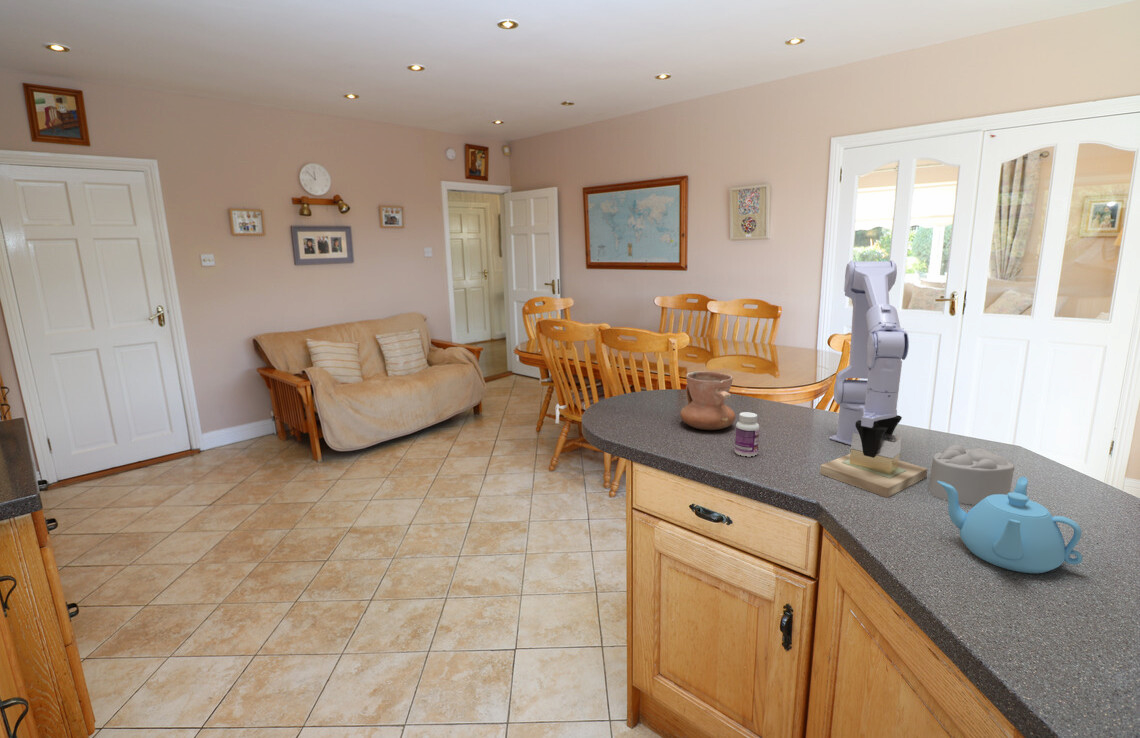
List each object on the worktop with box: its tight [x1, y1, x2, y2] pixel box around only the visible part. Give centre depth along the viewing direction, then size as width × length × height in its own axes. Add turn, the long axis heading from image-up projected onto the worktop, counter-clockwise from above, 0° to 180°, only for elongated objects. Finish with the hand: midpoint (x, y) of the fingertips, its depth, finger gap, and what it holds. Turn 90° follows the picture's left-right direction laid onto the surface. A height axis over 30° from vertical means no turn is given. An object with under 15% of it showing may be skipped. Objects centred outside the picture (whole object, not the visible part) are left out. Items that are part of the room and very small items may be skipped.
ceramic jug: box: [680, 370, 736, 431], centre depth 149 cm, size 18×14×14 cm
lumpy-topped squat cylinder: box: [928, 444, 1015, 506], centre depth 107 cm, size 10×13×9 cm
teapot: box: [937, 476, 1084, 574], centre depth 85 cm, size 15×15×10 cm
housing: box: [849, 430, 903, 475], centre depth 115 cm, size 8×4×7 cm, turn 43°
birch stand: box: [819, 452, 928, 499], centre depth 116 cm, size 16×14×2 cm
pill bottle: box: [734, 411, 760, 458], centre depth 129 cm, size 5×5×10 cm
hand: (875, 451), depth 115 cm, fingers open, 6 cm apart
